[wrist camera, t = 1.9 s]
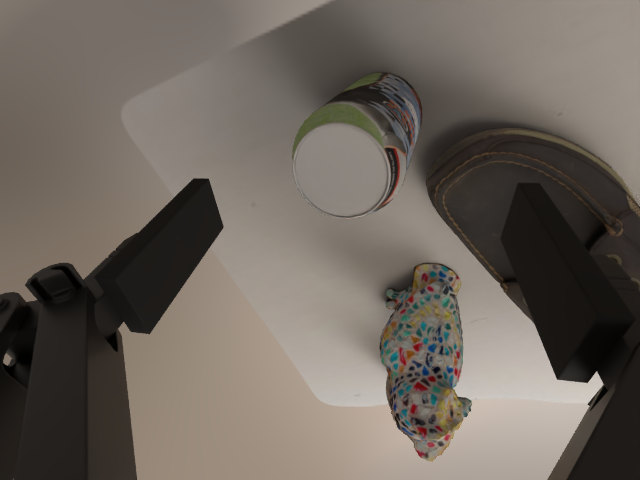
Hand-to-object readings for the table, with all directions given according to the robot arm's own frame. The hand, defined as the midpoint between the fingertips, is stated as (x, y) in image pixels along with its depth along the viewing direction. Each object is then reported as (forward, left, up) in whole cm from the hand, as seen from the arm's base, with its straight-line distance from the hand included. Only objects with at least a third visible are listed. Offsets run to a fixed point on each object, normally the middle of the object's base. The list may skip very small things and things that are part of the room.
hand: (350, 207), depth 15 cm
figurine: (+20, +6, -14) cm, 25 cm away
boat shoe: (+11, +17, -14) cm, 25 cm away
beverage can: (0, 0, -14) cm, 14 cm away
